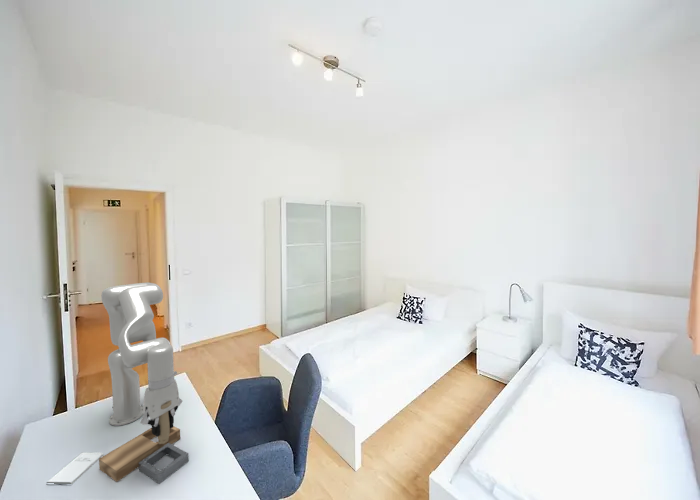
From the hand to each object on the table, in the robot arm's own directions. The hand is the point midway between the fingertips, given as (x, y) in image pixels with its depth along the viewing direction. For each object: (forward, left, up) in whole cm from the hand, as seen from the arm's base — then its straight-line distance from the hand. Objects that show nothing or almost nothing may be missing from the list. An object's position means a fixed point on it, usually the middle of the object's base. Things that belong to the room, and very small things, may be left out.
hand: (163, 430), depth 101 cm
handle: (0, 0, -4) cm, 4 cm away
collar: (0, 0, -14) cm, 14 cm away
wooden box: (-13, 0, -14) cm, 19 cm away
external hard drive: (-26, -14, -14) cm, 33 cm away
